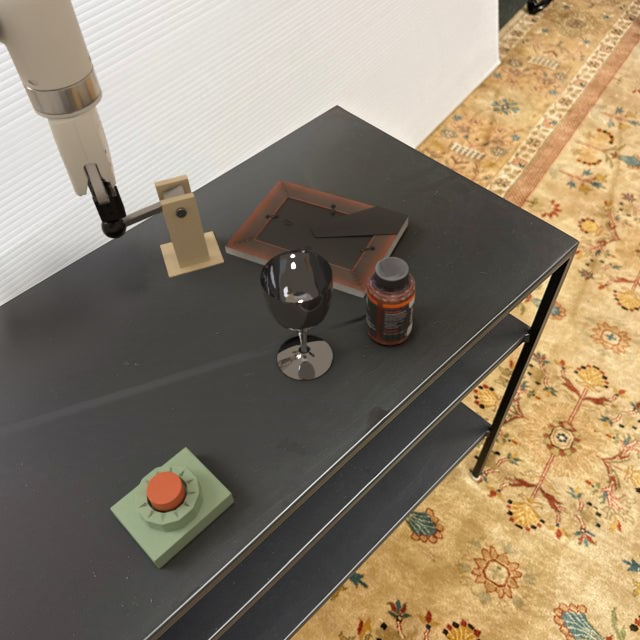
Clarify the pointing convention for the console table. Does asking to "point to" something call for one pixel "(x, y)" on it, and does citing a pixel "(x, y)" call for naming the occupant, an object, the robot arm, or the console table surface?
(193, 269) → the toaster bracket
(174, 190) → the lever
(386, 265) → the supplement bottle
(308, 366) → the wine glass
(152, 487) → the button
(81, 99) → the robot arm
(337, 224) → the picture frame
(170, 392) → the console table surface
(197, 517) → the button box
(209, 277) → the console table surface
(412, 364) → the console table surface
